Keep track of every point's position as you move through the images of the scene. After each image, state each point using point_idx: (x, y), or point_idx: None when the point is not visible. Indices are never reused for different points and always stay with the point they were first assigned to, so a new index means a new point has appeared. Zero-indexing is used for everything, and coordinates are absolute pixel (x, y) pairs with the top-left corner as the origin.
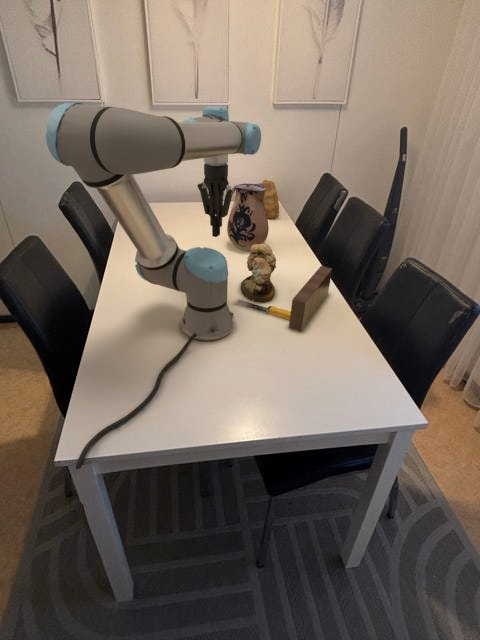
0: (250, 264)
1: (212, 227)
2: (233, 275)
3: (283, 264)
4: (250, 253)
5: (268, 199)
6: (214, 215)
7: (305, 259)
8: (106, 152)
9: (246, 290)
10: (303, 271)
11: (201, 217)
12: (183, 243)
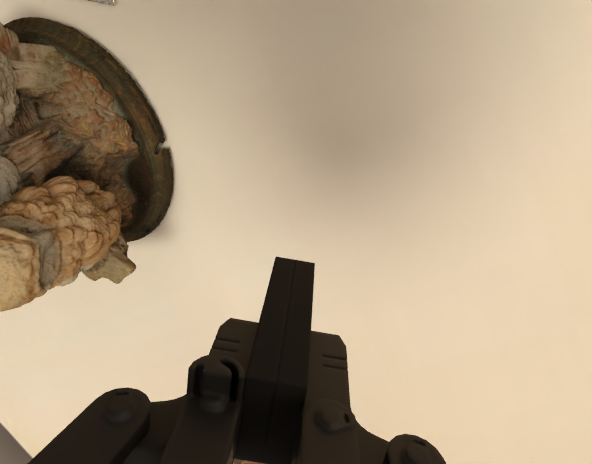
0: (63, 183)
1: (309, 308)
2: (245, 234)
3: (98, 386)
4: (47, 235)
5: None
6: (295, 444)
7: (45, 442)
8: None
9: (94, 68)
10: (5, 356)
11: None
12: (572, 440)
